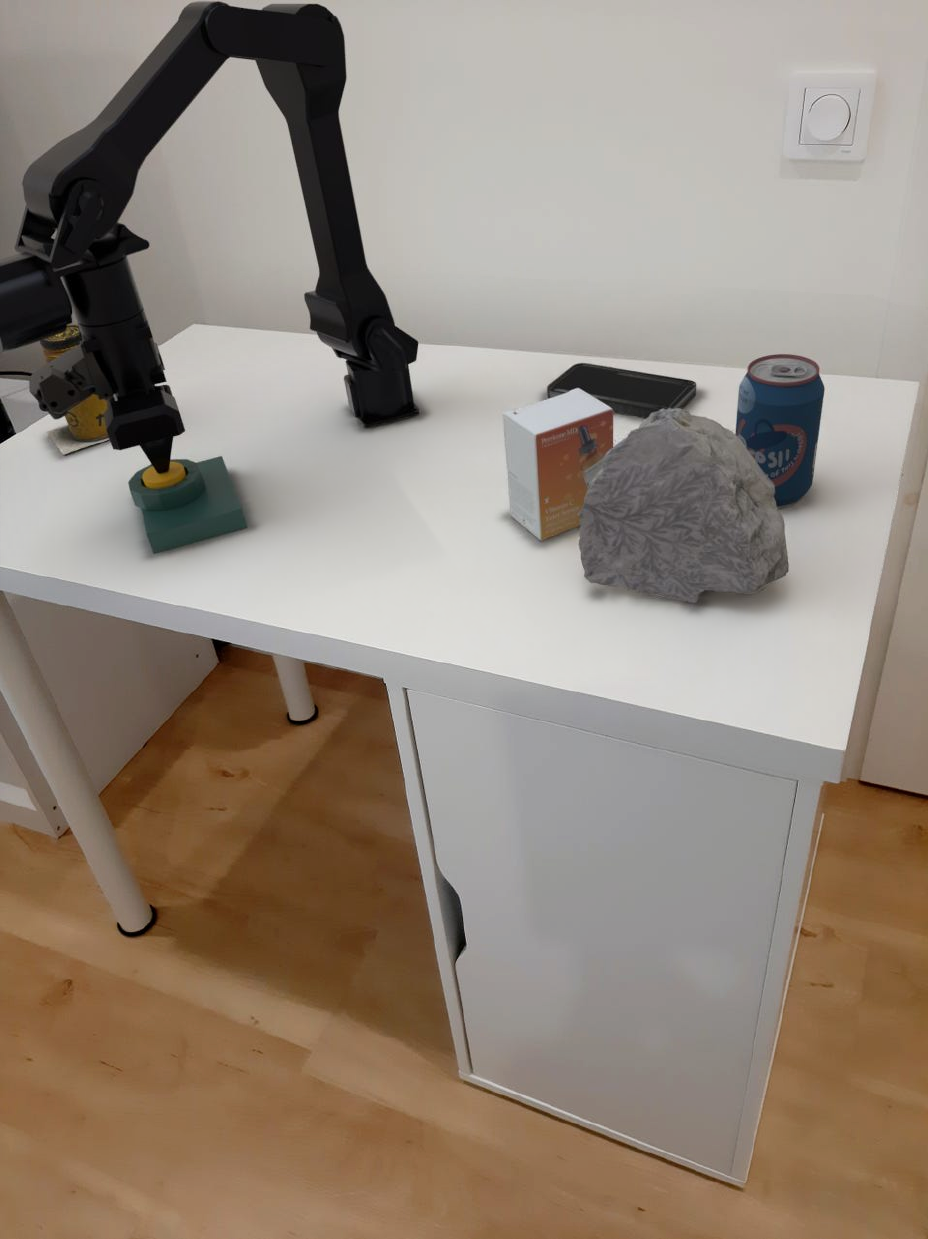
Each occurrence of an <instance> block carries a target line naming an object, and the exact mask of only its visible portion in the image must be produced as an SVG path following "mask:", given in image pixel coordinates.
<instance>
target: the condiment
mask: <svg viewBox="0 0 928 1239" xmlns="http://www.w3.org/2000/svg"><path fill="white" fill-rule="evenodd" d="M78 329H80V328H79V325H78V323H76V324H75V323H74V324H68V325H67V328H66V331H65V332H63V333H60V334H57V335H55V336H52V337H49V338H46V339H43V340H41V341H39V344H40V346H41V347H42V349H43V356H44V357H45V362H44V363H45V364H44V365H46V364H48V363H49V362H51V361H52V360H54V359H55V358H57V357H58V356H60V355H61V354H63V353H64V352H66V351H68V350H71V349H73V348H74V347H76V346H78V345H79V344H80V341H81V339H80V336H79V333H78ZM113 397H114V395H113ZM110 398H111V397H110ZM107 399H109V398H105V399H101V400H99V397H98V395H97V392H96V391H95V392H94V394H92V395H91V396H90V397H89V398H87V399H85V400H84V401H82V402H81V403H79V404H78V405H76V406H75V407H73V408H72V409H70V410H69V411H68V413H67V415H65V416H64V418H65V421H66V423H67V425H65V426H62V427H58V428H54V429H51V430H48V431H46V433H47V435H48V436H49V438H50V440H52V442H53V443H54V445H55V447H56V448H58V450H59V451H60V452H61V454H62V455H63V456H65V455H66V454H67V455H68V454H69V453H73V452H76V451H78V450H80V449H85V448H87V447H89V446H94V445H96V444H100V443H103V442H106V441H110V439H109V436H108V434H107V431H106V426H105V421H104V415H103V414H104V413H105V411H106V409H107V403H106V401H107Z"/></svg>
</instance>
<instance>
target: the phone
mask: <svg viewBox="0 0 928 1239" xmlns="http://www.w3.org/2000/svg"><path fill="white" fill-rule="evenodd" d="M576 388H579V389H581V390H583V391H585V392H586V393H588V394H589V395H591V396H593V397H594V398H596V399H598V400H599V401H601V402H603V403H604V404H606V405H608V406H609V407H610V408H612V409H613V413H618V414H624V415H630V416H636V417H640V418H645V419H646V418H648V417H649V416H650V414H651V413H653V412H657V411H659V410H661V409H666V410H667V409H675V408H680V409H683V408H685V406H686V405H687V404H688V403H689V402H691V400H693V398H694V397H696V395H697V382H696V381H694V380H691V379H686V378H681V377H675V376H668V375H661V374H654V373H648V372H642V371H636V370H630V369H625V368H618V367H612V366H605V365H601V364H593V363H587V362H579V363H575V364H573V365H571V366H570V367H569V368H568V369H566V370H565V371H564V372H563V373H561V375H559V376H558V377H557V378H555V379H554V380H553V381H552V382H550V383H549V384H548V385H547V386H546V390H547V399H549V398H552V397H555V396H558V395H561V394H564V393H567V392H569V391H571V390H573V389H576Z"/></svg>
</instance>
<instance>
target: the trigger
mask: <svg viewBox="0 0 928 1239" xmlns="http://www.w3.org/2000/svg"><path fill="white" fill-rule="evenodd" d="M185 477H186V473H185V470H184V467H183V465H182V464H180V463H178V462H170V467H169V471H168V472H165V473H161V474H158V473H157V472H156V470H155V469H154V467H153V466H152V467H150V468H148V469H147V470H146V471H145V472H144V473H143V475H142V478H143V481H144V484H145V487H146V488H149V489H161V488H165V487H169V486H172V485H175V484H177V483H179V482H180V481H182V480H184V478H185Z"/></svg>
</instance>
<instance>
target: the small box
mask: <svg viewBox="0 0 928 1239" xmlns="http://www.w3.org/2000/svg"><path fill="white" fill-rule="evenodd" d="M502 428H503V437H504V438H503V439H504V440H503V441H504V450H505V463H506V477H507V489H508V504H509V514H510V516H511V517H512V518H513V519H514V520H516V521H517V522H518V523H519V524H520V525H522V526H523V527H524V528H525V529H526V530H527V531H529V532H530V533H531V534H532V535H533V536H535V538H537V539H538V540H539V541H545V540H546V539H549V538H551V537H553V536H557V535H558V534H561V533H564V532H567V531H569V530H572V529H574V528H577V527H581V523H580V518H579V515H578V513H579V512H580V510H581V508H582V507H583V505H584V498H585V496H586V494H587V492H588V487H589V484H590V483H591V481H592V480H593V479H594V477H595V475H596V474H597V473H598V472H599V471H600V470H601V469H602V468H603V462H604V460H603V458H604V456H605V454H606V453H607V452H608V451H609V450H610V449H612V448H613V447H614V411H613V409H612V408H610V407H609V406H608V405H606V404H604V403H603V402H601V401H599V400H598V399H596V398H594V397H593V396H591V395H589V394H588V393H586V392H585V391H583V390H581V389H579V388H576V389H573V390H571V391H569V392H567V393H564V394H561V395H558V396H555V397H552V398H547V399H544V400H541V401H537V402H535V403H532V404H529V405H525V406H522V407H519V408H516V409H511V410H507V411H504V412H502Z"/></svg>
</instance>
